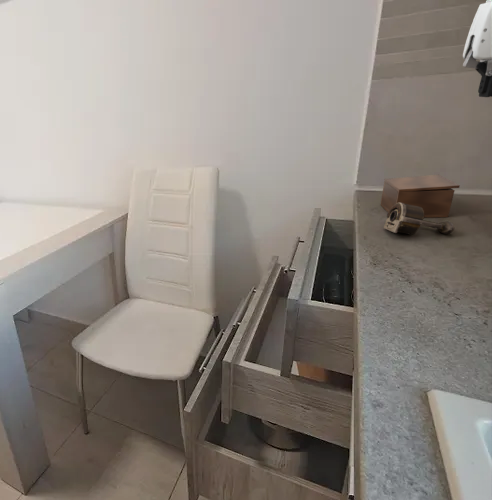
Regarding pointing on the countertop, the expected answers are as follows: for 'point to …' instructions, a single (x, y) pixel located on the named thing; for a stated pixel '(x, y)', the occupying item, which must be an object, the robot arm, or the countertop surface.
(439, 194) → the keepsake box
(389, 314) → the countertop surface
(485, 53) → the robot arm
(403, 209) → the security camera
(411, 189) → the lid
